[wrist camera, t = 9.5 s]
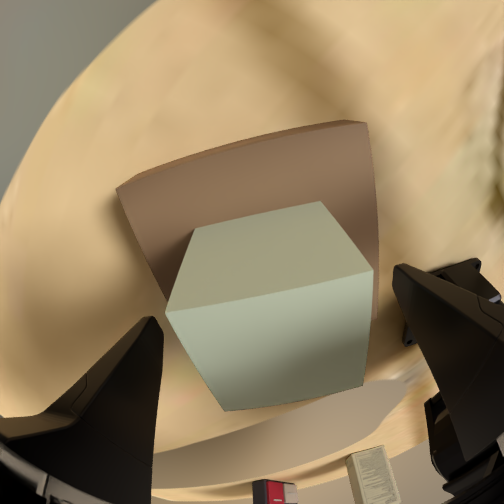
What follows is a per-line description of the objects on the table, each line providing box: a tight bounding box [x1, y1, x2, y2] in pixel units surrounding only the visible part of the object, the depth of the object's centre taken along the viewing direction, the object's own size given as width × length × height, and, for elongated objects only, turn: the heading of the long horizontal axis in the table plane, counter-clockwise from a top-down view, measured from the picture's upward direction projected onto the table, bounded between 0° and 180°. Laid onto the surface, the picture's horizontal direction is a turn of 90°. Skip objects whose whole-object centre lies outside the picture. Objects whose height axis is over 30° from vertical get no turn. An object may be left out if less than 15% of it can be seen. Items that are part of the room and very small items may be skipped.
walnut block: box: [116, 120, 379, 321], centre depth 13 cm, size 10×10×3 cm
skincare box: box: [345, 445, 401, 504], centre depth 28 cm, size 6×4×12 cm
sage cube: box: [165, 201, 373, 411], centre depth 9 cm, size 5×5×5 cm
